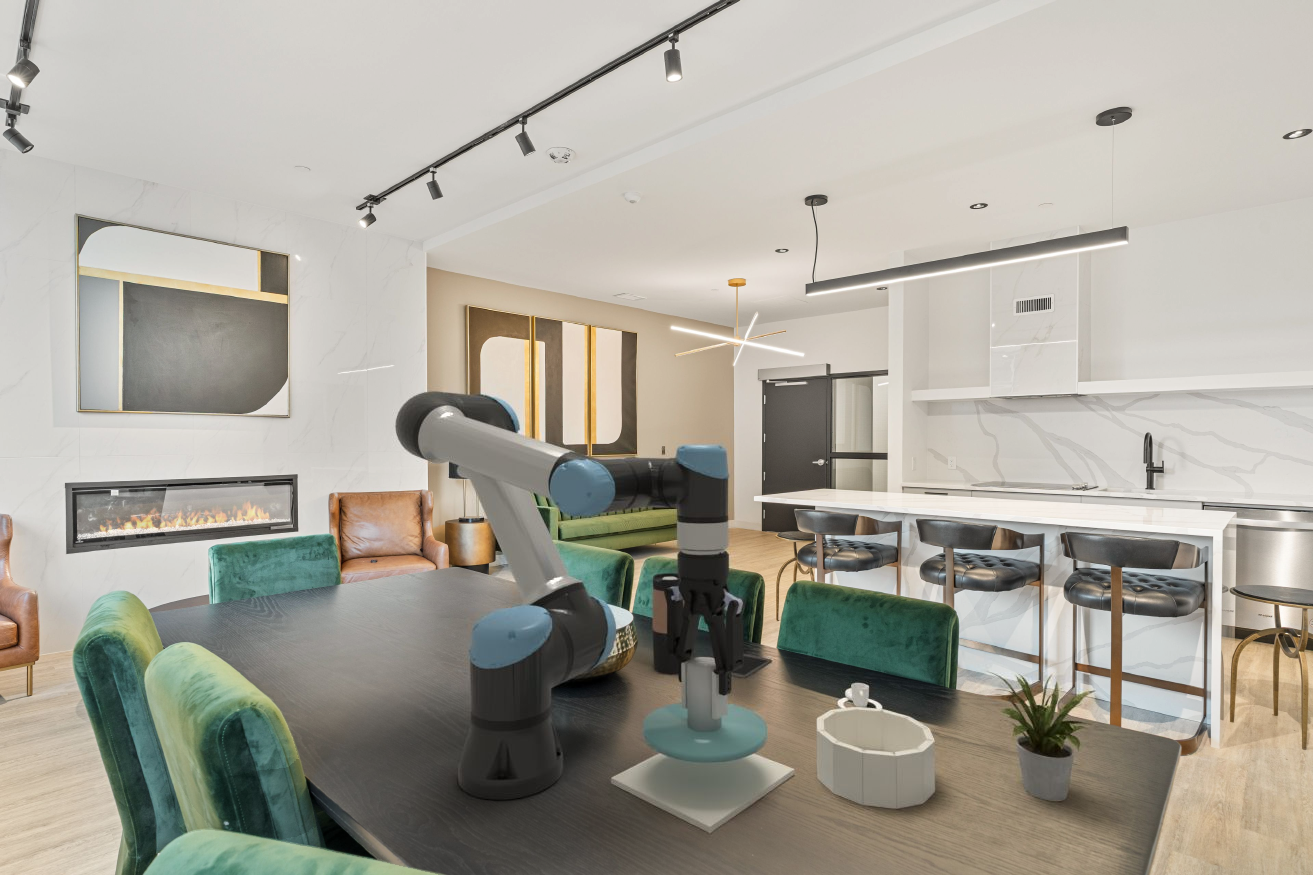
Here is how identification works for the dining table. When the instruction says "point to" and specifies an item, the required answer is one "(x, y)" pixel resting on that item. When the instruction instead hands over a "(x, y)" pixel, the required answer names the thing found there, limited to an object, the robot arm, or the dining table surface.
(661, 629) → the travel mug
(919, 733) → the bowl
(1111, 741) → the dining table surface
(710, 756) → the lid
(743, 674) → the cell phone
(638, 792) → the mat
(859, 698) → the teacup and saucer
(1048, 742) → the house plant
